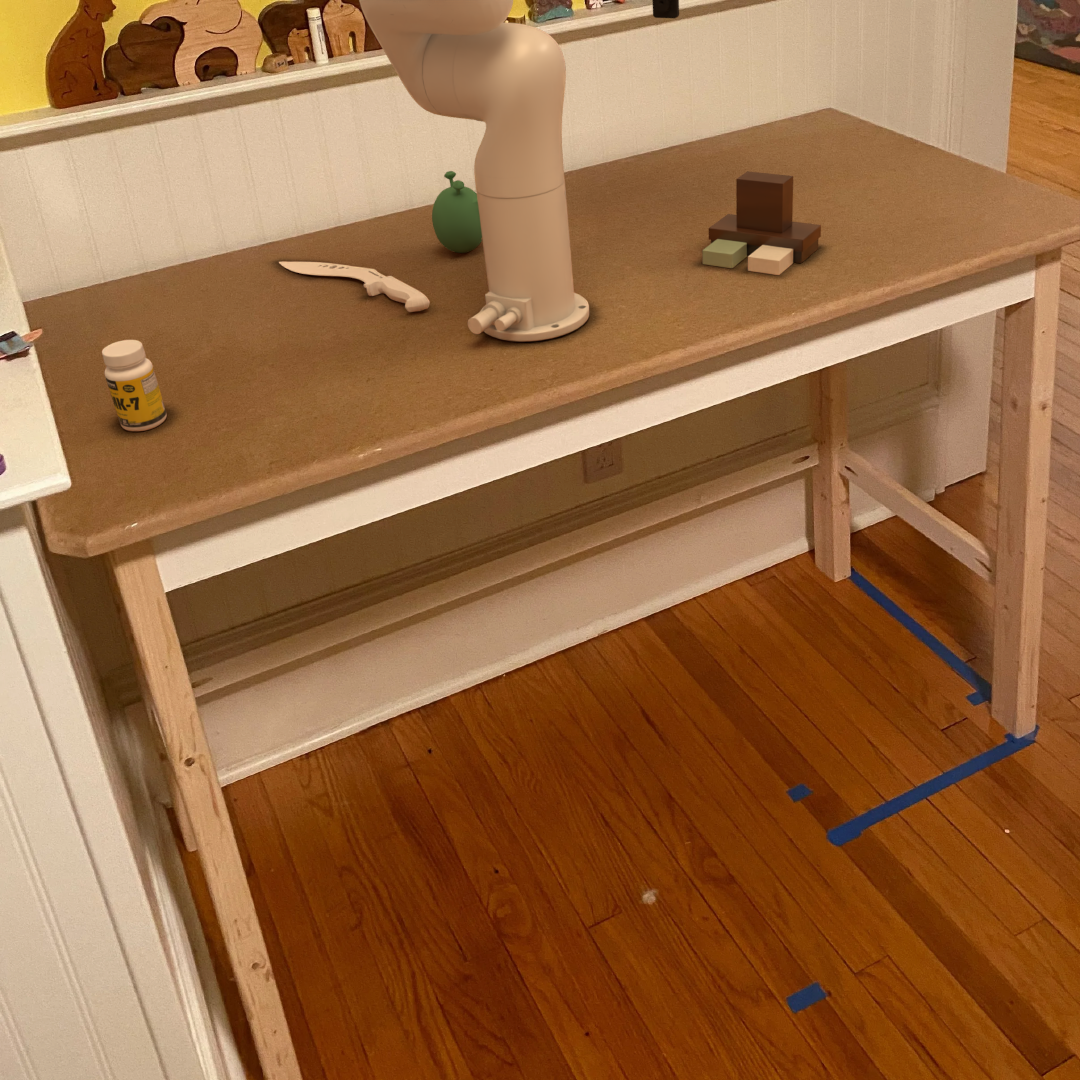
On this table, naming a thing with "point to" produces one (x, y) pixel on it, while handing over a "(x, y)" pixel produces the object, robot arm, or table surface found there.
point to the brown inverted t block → (766, 217)
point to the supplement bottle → (133, 386)
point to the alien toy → (457, 217)
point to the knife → (366, 282)
